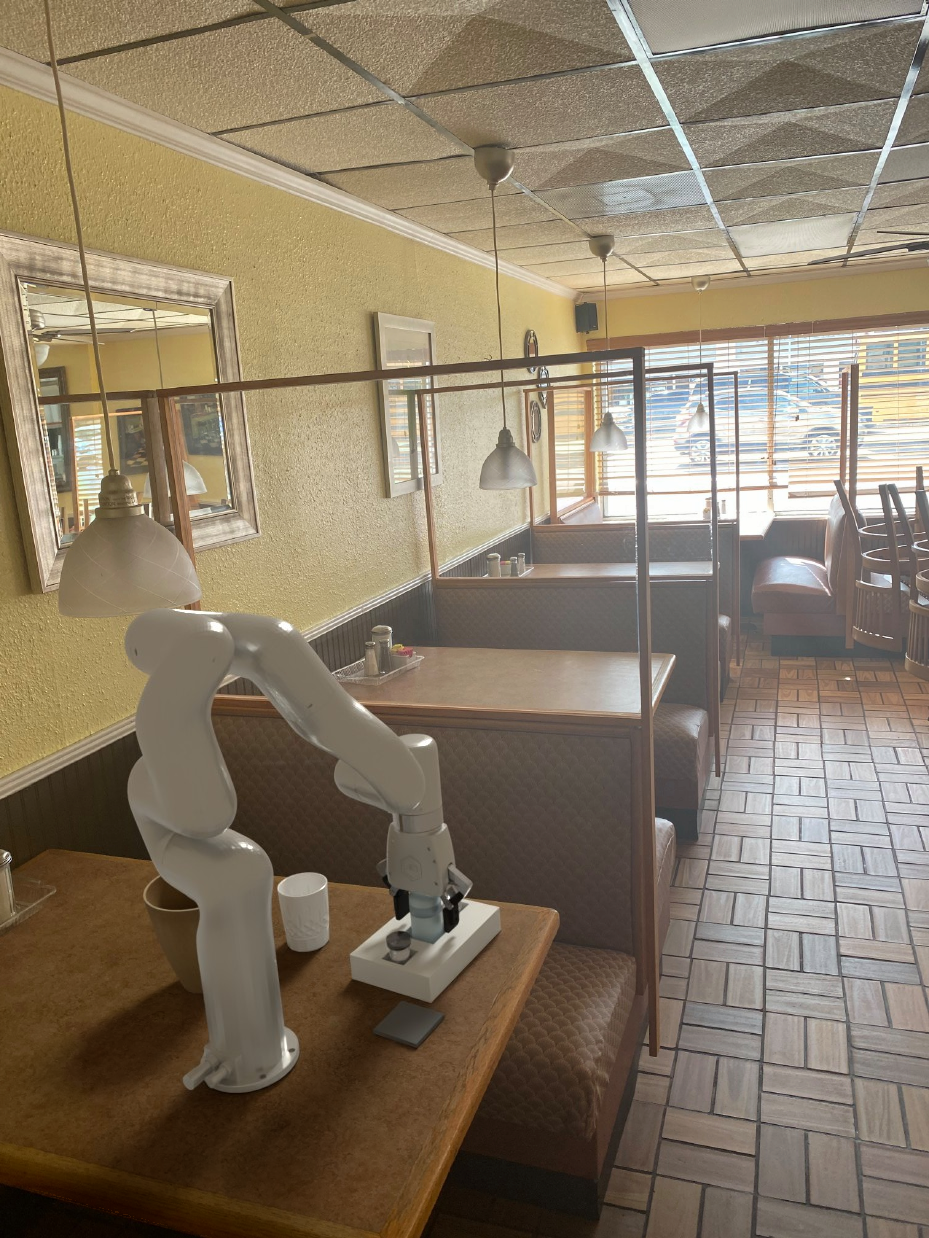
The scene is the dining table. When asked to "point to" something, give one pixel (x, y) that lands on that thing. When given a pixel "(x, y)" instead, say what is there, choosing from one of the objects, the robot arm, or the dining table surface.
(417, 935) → the cylinder
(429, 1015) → the mat
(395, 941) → the grey dome-capped cylinder
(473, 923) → the housing
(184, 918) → the plant pot
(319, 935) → the white cup
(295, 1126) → the dining table surface
